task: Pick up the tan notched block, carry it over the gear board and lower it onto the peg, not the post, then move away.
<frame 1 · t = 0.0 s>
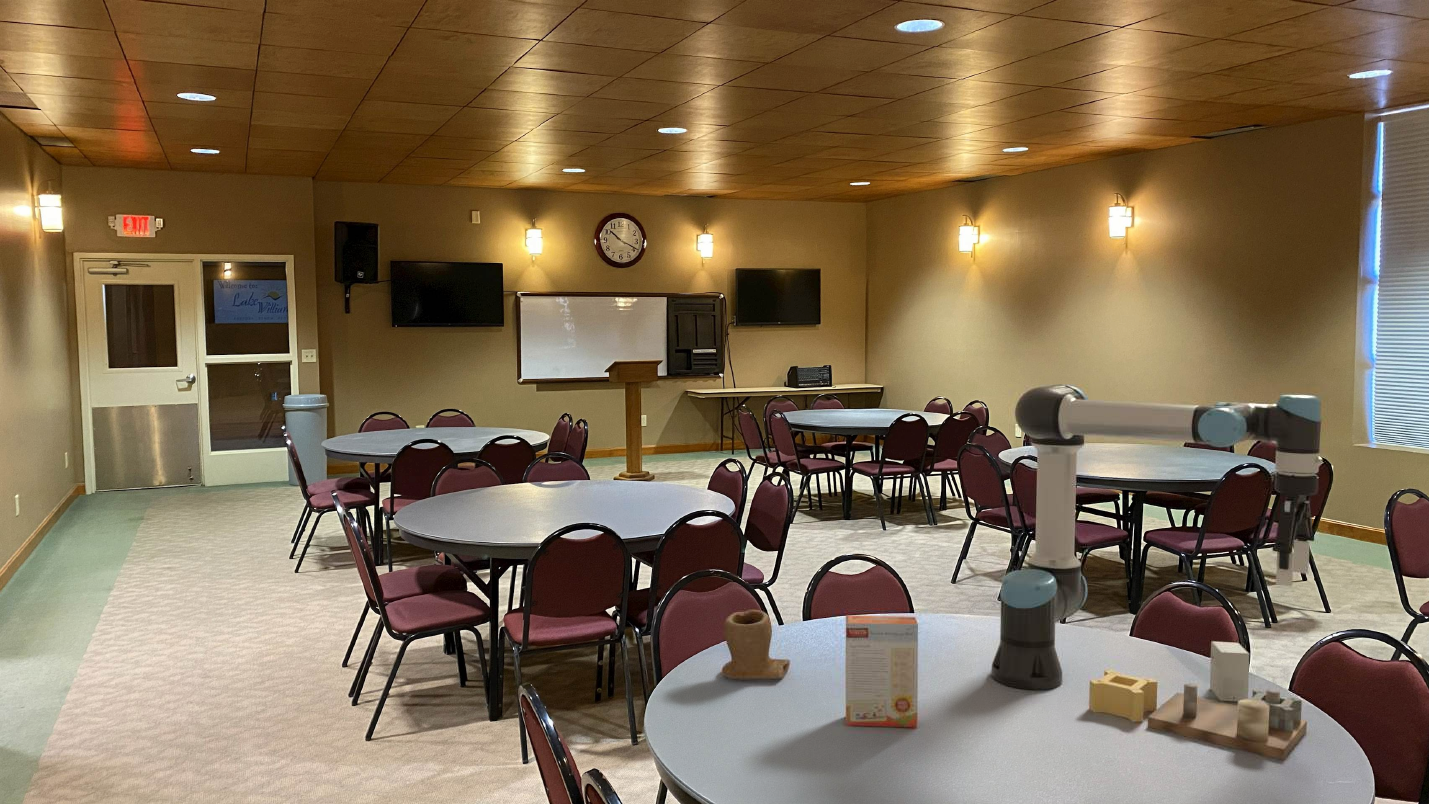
hand: (1292, 578, 209), 28 cm above the table, fingers open, 13 cm apart
gear board: (1226, 728, 205), on the table
tan notched block: (1122, 709, 215), on the table
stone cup: (755, 678, 234), on the table
cracker box: (880, 722, 208), on the table
small box: (1228, 696, 223), on the table
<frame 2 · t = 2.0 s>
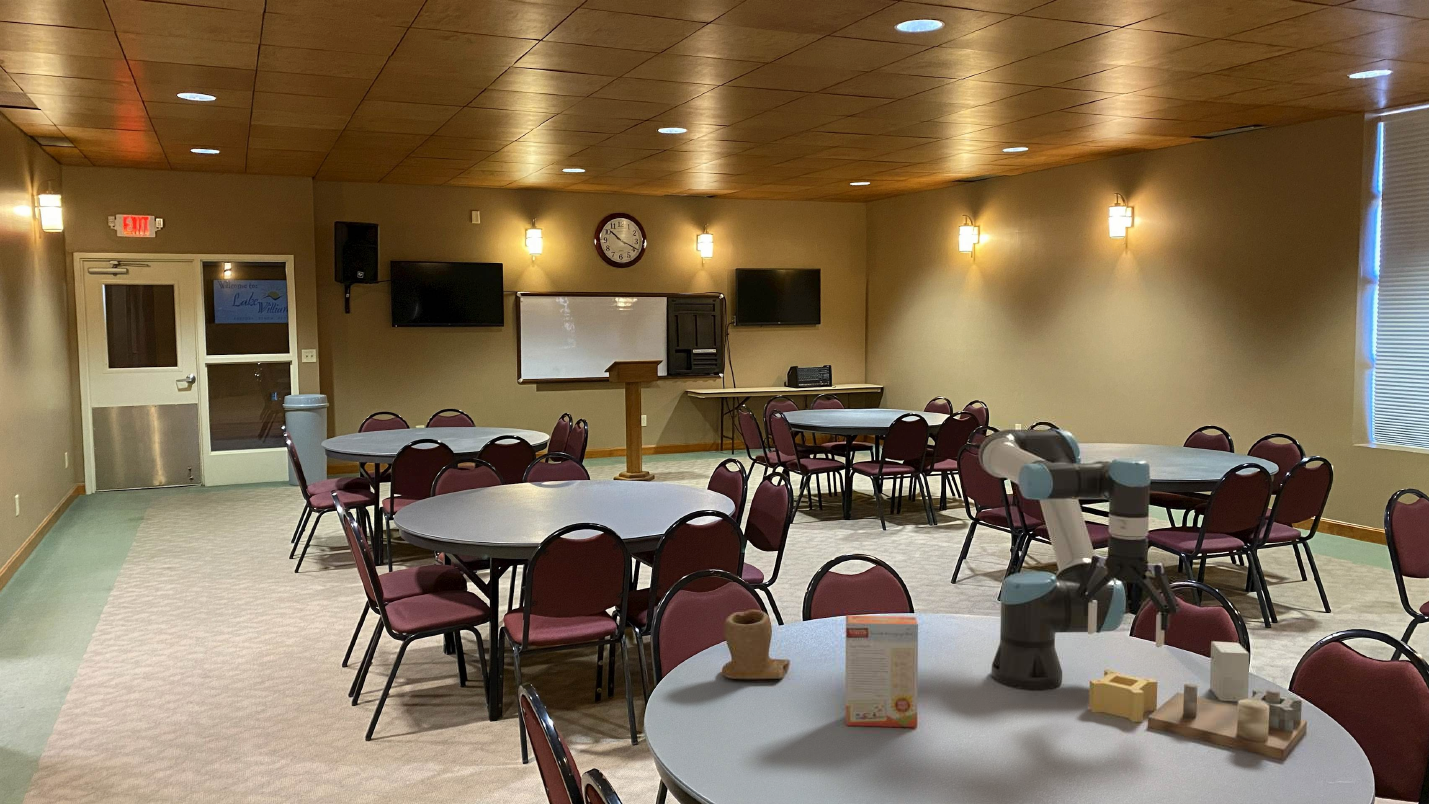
hand: (1125, 639, 213), 15 cm above the table, fingers open, 13 cm apart
nothing on the table moved.
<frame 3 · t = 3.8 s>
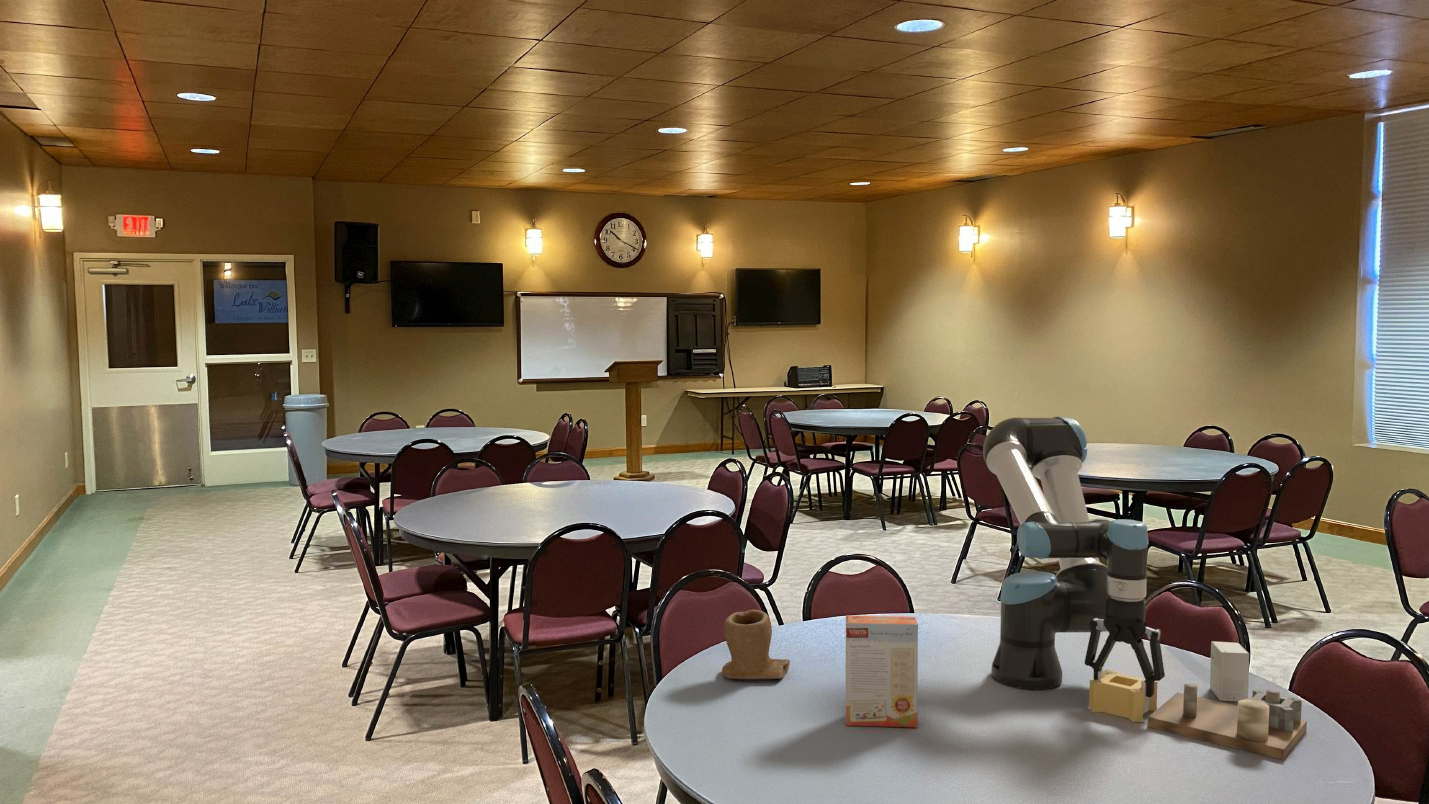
hand: (1122, 706, 215), 1 cm above the table, fingers closed on tan notched block, 8 cm apart
tan notched block: (1122, 709, 215), on the table, touching gripper
everything else where it was.
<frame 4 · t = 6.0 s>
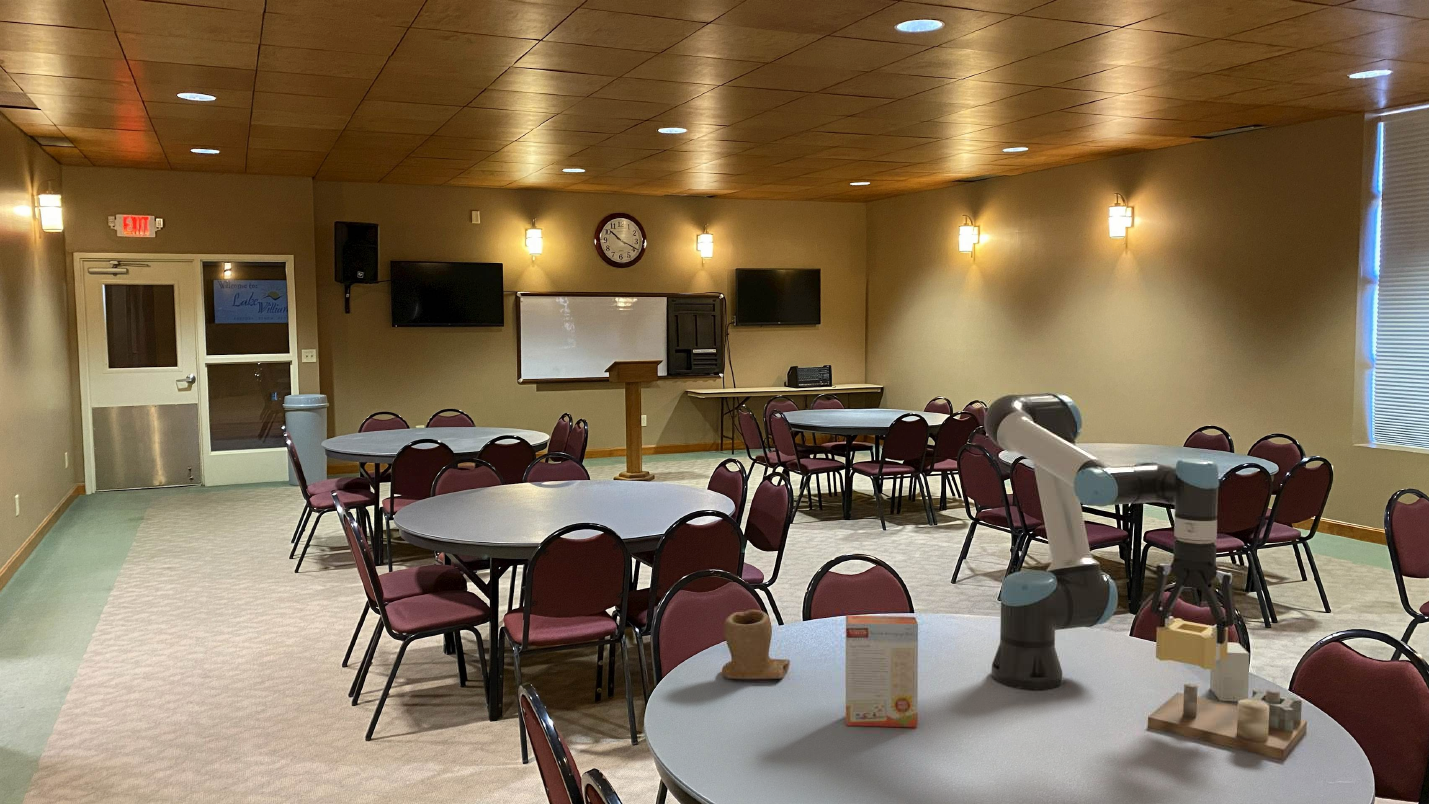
hand: (1191, 654, 205), 14 cm above the table, fingers closed on tan notched block, 8 cm apart
tan notched block: (1191, 658, 205), point 14 cm above the table, touching gripper
everything else where it was.
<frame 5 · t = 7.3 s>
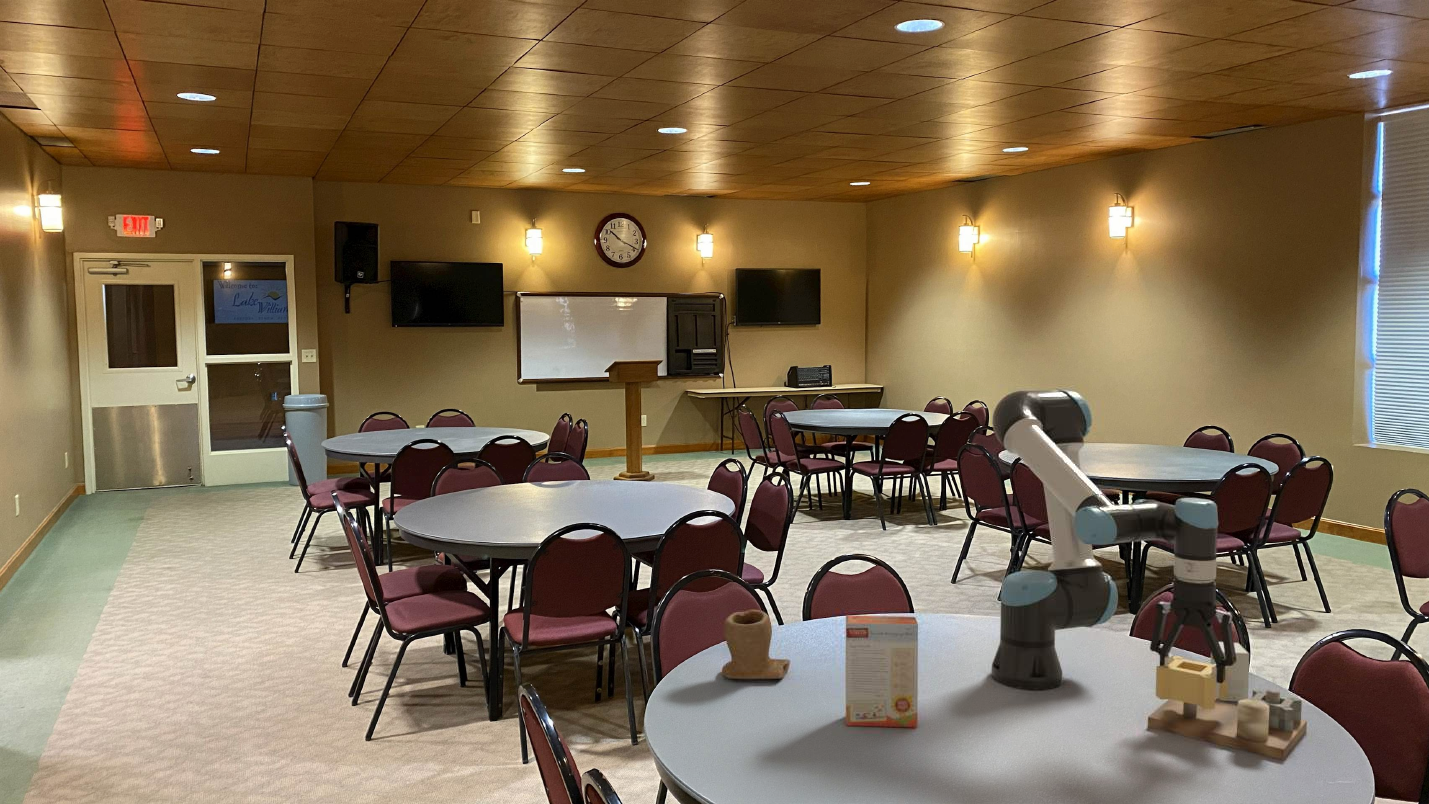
hand: (1191, 693, 206), 7 cm above the table, fingers closed on tan notched block, 8 cm apart
tan notched block: (1191, 696, 206), point 6 cm above the table, touching gripper
everything else where it was.
when the fingers open (4 cm above the table, at t = 8.2 s): tan notched block drops 1 cm, resting on gear board.
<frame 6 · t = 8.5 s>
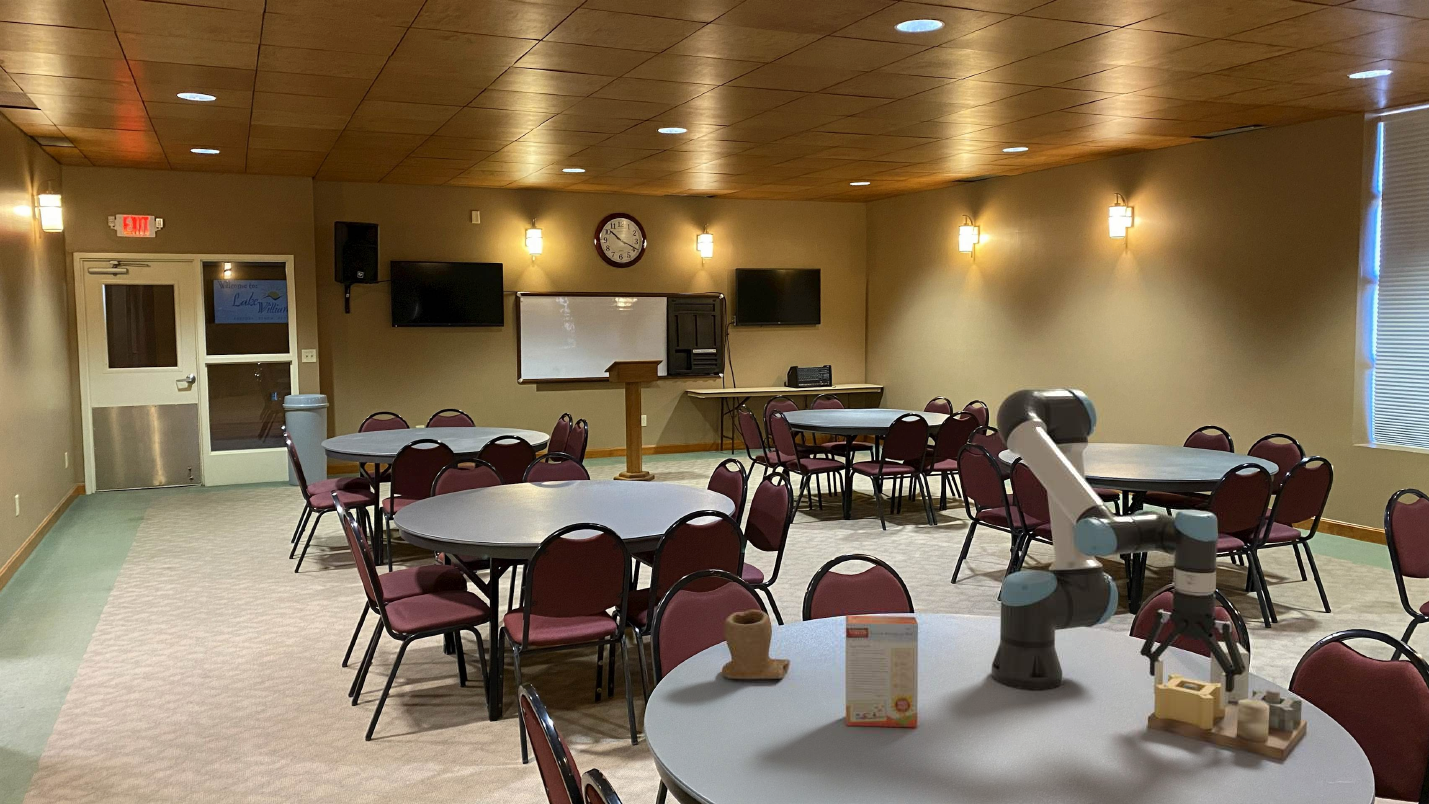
hand: (1190, 699, 206), 5 cm above the table, fingers open, 11 cm apart
tan notched block: (1189, 715, 206), point 2 cm above the table, touching gear board
everything else where it was.
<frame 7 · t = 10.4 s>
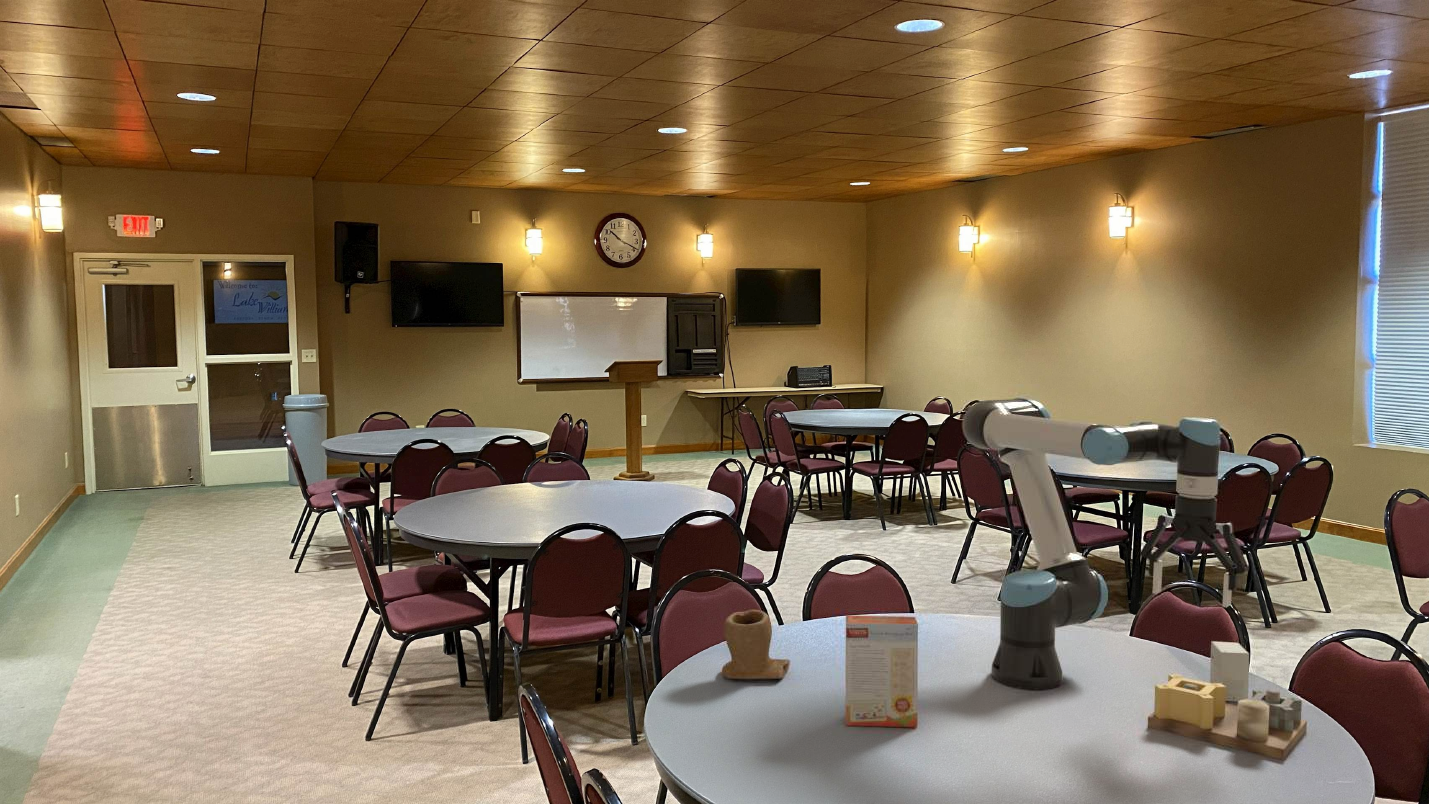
hand: (1190, 599, 212), 23 cm above the table, fingers open, 13 cm apart
nothing on the table moved.
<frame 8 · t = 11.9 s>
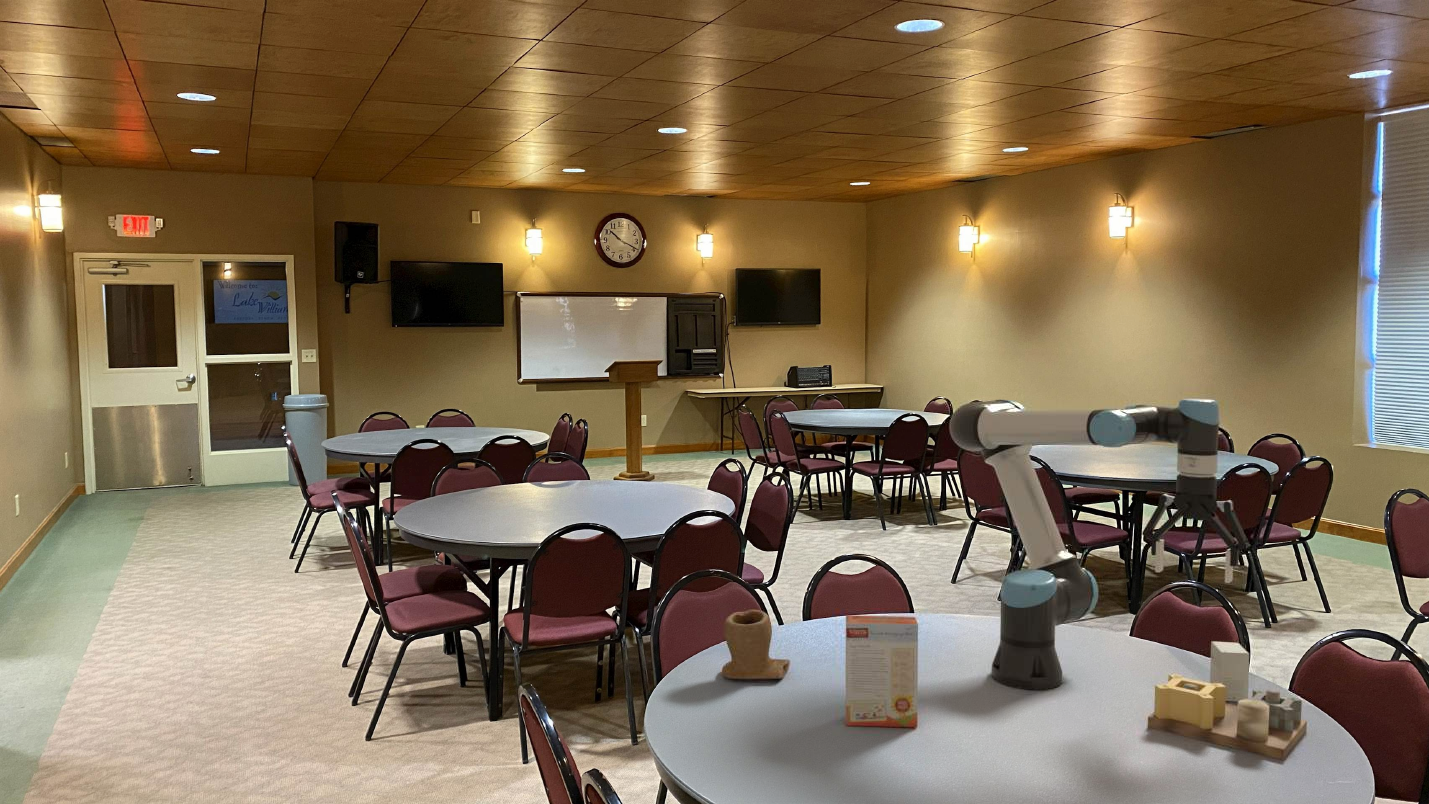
hand: (1193, 576, 217), 27 cm above the table, fingers open, 13 cm apart
nothing on the table moved.
at the end: tan notched block 0.1 cm from the target spot, point 2.0 cm above the table; tan notched block tilted 0°; the gripper is holding nothing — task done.
